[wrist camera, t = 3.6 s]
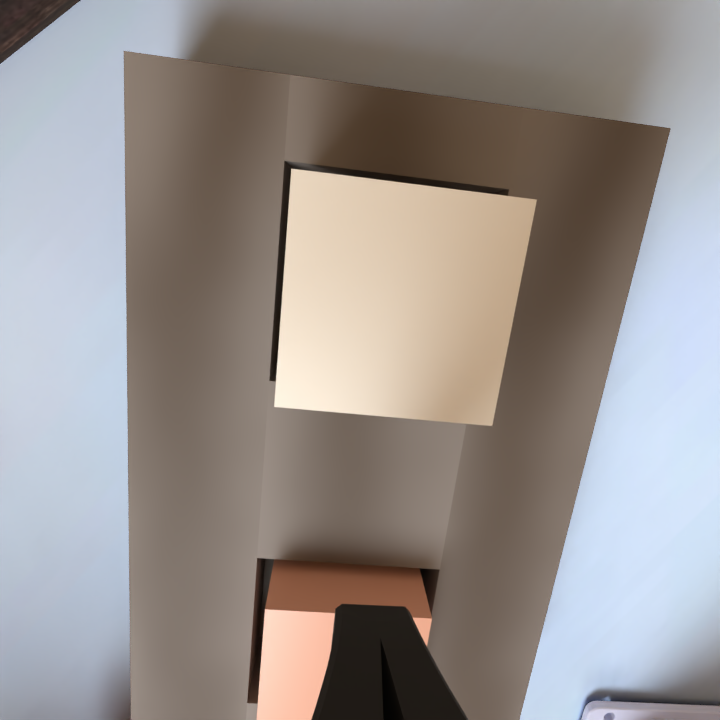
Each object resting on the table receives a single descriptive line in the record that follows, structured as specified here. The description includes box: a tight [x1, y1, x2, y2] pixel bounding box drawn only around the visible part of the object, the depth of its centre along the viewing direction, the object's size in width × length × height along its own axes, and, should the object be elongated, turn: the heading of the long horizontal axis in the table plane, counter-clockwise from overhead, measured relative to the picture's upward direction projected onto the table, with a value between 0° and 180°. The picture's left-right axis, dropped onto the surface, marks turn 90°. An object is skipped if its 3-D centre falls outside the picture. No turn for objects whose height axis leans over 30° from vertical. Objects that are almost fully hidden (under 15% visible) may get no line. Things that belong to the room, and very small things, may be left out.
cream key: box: [274, 169, 537, 426], centre depth 12 cm, size 5×5×3 cm
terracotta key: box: [257, 559, 432, 720], centre depth 17 cm, size 5×5×3 cm
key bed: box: [124, 51, 671, 720], centre depth 17 cm, size 14×22×4 cm, turn 174°
